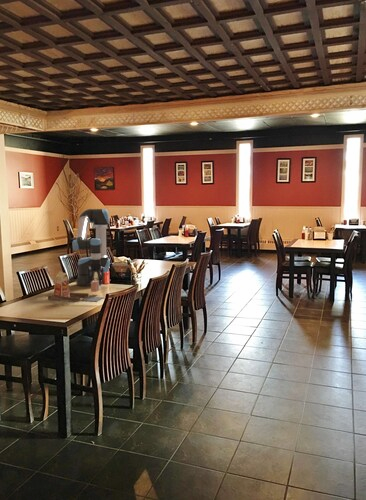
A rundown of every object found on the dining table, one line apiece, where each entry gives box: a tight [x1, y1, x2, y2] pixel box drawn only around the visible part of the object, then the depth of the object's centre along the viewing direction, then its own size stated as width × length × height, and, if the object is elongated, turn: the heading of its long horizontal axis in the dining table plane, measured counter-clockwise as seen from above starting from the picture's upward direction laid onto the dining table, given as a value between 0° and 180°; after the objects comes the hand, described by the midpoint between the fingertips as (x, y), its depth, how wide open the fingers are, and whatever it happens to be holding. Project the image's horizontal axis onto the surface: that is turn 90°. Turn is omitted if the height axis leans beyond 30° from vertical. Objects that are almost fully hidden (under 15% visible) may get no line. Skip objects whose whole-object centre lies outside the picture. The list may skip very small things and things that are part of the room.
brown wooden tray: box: [47, 292, 89, 302], centre depth 312 cm, size 15×24×2 cm, turn 78°
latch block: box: [90, 279, 102, 293], centre depth 321 cm, size 10×4×7 cm, turn 167°
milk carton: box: [53, 270, 71, 297], centre depth 312 cm, size 9×9×20 cm
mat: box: [80, 295, 104, 303], centre depth 308 cm, size 12×12×1 cm
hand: (96, 289), depth 322 cm, fingers closed on latch block, 4 cm apart
